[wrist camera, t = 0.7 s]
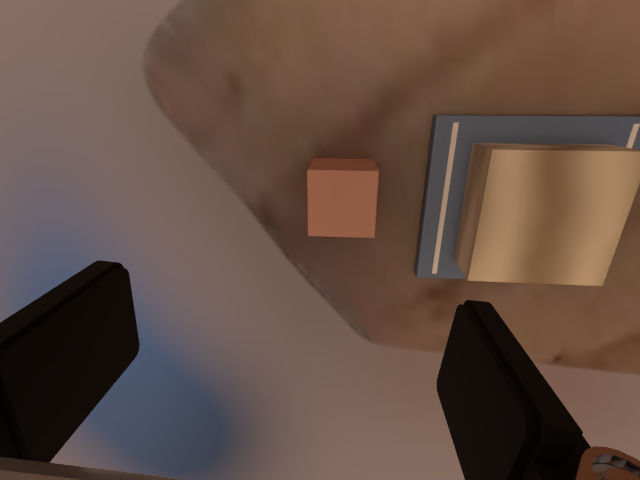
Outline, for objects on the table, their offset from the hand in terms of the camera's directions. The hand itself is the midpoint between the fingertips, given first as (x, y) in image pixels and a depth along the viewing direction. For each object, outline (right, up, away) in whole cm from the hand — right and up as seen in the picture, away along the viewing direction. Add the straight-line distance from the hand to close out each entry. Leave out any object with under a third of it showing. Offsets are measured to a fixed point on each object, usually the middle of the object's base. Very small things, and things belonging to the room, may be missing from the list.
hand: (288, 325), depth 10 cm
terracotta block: (+3, +7, +20) cm, 22 cm away
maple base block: (+18, +5, +18) cm, 26 cm away
